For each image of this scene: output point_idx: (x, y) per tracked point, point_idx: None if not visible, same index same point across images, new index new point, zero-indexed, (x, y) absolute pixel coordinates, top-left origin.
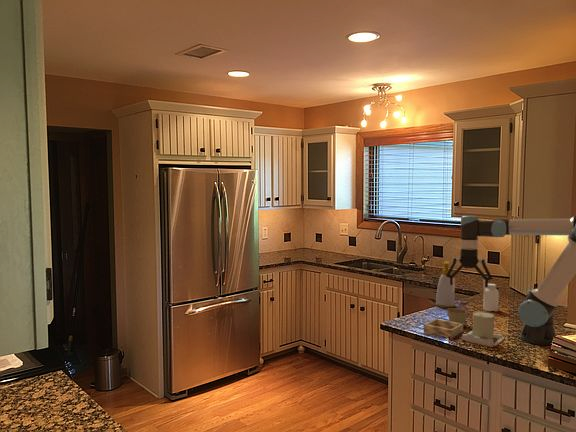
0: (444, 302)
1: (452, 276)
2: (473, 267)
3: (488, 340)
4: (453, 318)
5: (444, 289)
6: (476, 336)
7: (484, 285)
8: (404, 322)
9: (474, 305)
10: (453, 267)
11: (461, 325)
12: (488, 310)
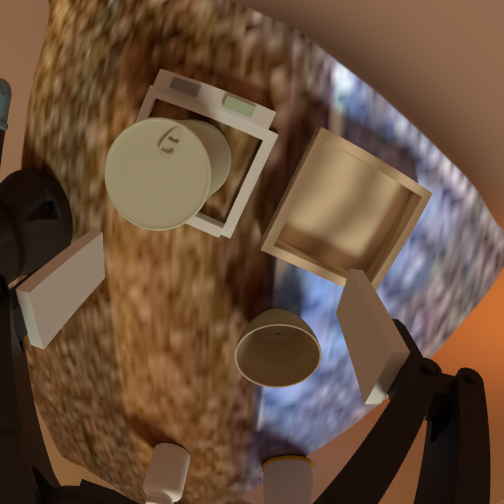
0: (293, 466)
1: (420, 376)
2: (55, 487)
3: (170, 72)
4: (295, 316)
5: (294, 498)
6: (214, 106)
7: (49, 266)
8: (456, 290)
9: (212, 472)
10: (457, 489)
11: (270, 229)
12: (176, 446)
